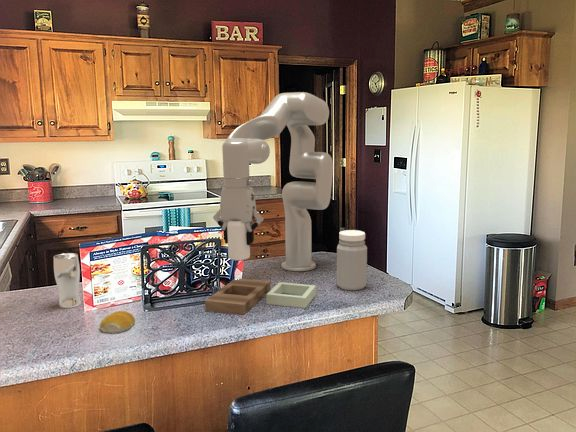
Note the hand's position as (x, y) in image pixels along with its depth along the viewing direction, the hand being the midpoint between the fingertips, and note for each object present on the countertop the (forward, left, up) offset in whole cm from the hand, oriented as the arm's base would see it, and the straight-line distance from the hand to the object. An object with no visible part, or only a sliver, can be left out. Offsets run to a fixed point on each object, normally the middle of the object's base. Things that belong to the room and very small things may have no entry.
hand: (238, 242), depth 153 cm
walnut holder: (0, 0, -18) cm, 18 cm away
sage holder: (-5, +15, -18) cm, 24 cm away
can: (0, 0, -5) cm, 5 cm away
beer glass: (+18, -47, -18) cm, 54 cm away
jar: (-22, +30, -18) cm, 41 cm away
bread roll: (+29, -23, -18) cm, 41 cm away
